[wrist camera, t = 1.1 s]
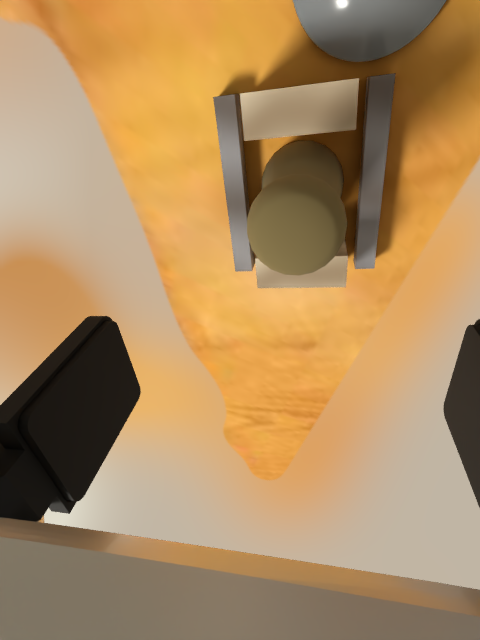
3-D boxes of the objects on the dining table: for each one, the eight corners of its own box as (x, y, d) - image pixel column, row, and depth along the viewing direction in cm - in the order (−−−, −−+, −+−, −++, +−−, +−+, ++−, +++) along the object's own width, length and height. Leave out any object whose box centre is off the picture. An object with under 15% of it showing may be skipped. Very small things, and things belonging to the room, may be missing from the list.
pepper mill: (361, 167, 25) (387, 215, 16) (313, 238, 28) (312, 311, 19) (287, 122, 24) (270, 146, 15) (247, 201, 27) (214, 258, 18)
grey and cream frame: (218, 96, 24) (200, 98, 20) (390, 73, 21) (406, 71, 18) (238, 263, 30) (228, 288, 27) (371, 260, 28) (379, 286, 25)
